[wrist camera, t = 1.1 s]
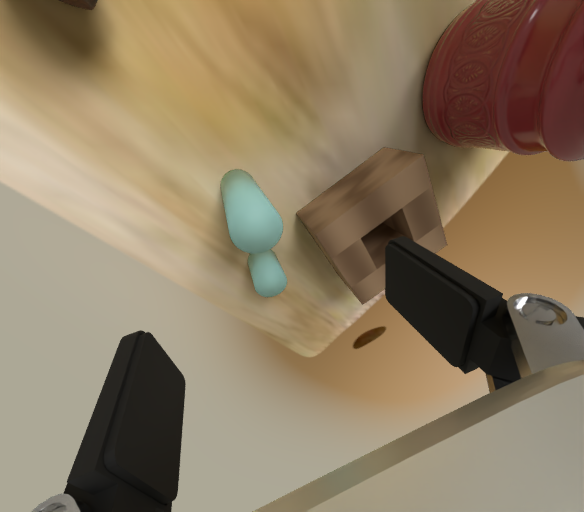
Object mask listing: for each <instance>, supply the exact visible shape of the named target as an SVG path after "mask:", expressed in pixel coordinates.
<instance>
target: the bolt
mask: <svg viewBox="0 0 584 512" xmlns="http://www.w3.org/2000/svg"><path fill="white" fill-rule="evenodd" d="M59 1H62V2H64V3H67V4H70V5H73V6H76V7H80V8H84V9H89V10H92V9H93V8H94V7H95V5H96V3H97V0H59Z"/></svg>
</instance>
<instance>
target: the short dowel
mask: <svg viewBox="0 0 584 512" xmlns="http://www.w3.org/2000/svg"><path fill="white" fill-rule="evenodd" d="M248 265H249V269H250V272H251V276H252V279H253V283H254V287H255V290H256V292H257V293H258V294H259V295H261V296H264V297H273V296H276V295H278V294H280V293H281V292H282V291H283V290H284V289H285V287H286V284H287V278H286V275H285V273H284V271H283V269H282V267H281V265H280V263H279V261H278V259H277V257H276V255H275V253H274V252H273V251H272V250H271V249H269V250H268V251H265V252H262V253H255V254H253V253H250V255H249V257H248Z"/></svg>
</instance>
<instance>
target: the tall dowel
mask: <svg viewBox="0 0 584 512" xmlns="http://www.w3.org/2000/svg"><path fill="white" fill-rule="evenodd" d="M221 192H222V198H223V203H224V208H225V213H226V218H227V224H228V229H229V234H230V238H231V240H232V242H233V243H234V245H235V246H236V247H238V248H239V249H240V250H242V251H244V252H247V253H253V254H255V253H262V252H265V251H268V250H269V249H271V248H272V247H274V246H275V245H276V244H277V242H278V241H279V239H280V238H281V235H282V232H283V223H282V219H281V217H280V215H279V214H278V212H277V211H276V209H275V208H274V207H273V205H272V204H271V203H270V201H269V200H268V198H267V197H266V196H265V194H264V193H263V192H262V190H261V189H260V187H259V186H258V185H257V183H256V182H255V181H254V179H253V178H252V176H251V175H250V174H249V173H247V172H246V171H243V170H239V169H235V170H231V171H229V172H228V173H226V174H225V175H224V177H223V178H222V180H221Z"/></svg>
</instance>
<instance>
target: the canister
mask: <svg viewBox="0 0 584 512" xmlns="http://www.w3.org/2000/svg"><path fill="white" fill-rule="evenodd" d="M423 112H424V117H425V120H426V123H427V125H428V128H429V129H430V131H431V132H432V134H433V135H434V136H435V137H436V138H438V139H439V140H441V141H443V142H446V143H447V144H449V145H452V146H456V147H462V148H474V147H477V148H485V149H494V150H502V151H510V152H513V153H516V154H519V155H533V154H538V153H541V152H544V151H548V152H549V153H550V154H551V155H552V156H553V157H555V158H557V159H559V160H563V161H577V160H581V159H584V0H477V1H476V2H475V3H473V4H472V5H470V6H469V7H467V8H466V9H465V10H463V11H462V12H461V13H460V14H459V15H458V16H457V17H456V18H455V19H454V20H453V21H452V22H451V24H450V25H449V26H448V28H447V29H446V30H445V32H444V33H443V35H442V36H441V38H440V40H439V42H438V43H437V45H436V47H435V49H434V52H433V54H432V56H431V59H430V62H429V65H428V68H427V71H426V75H425V80H424V86H423Z"/></svg>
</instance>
